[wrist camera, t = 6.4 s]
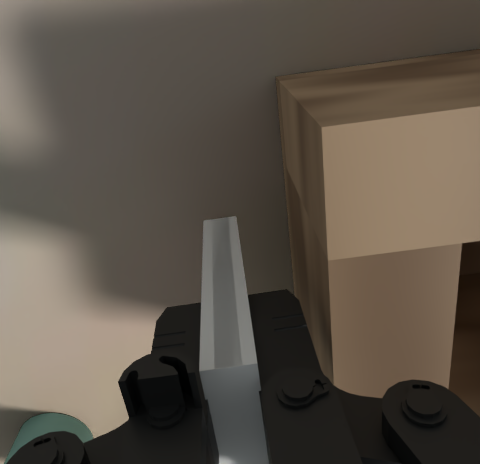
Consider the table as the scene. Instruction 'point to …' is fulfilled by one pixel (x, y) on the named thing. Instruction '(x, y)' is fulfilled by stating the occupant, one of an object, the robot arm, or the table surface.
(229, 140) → the table surface
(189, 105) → the table surface
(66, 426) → the dowel
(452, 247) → the block
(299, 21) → the table surface
